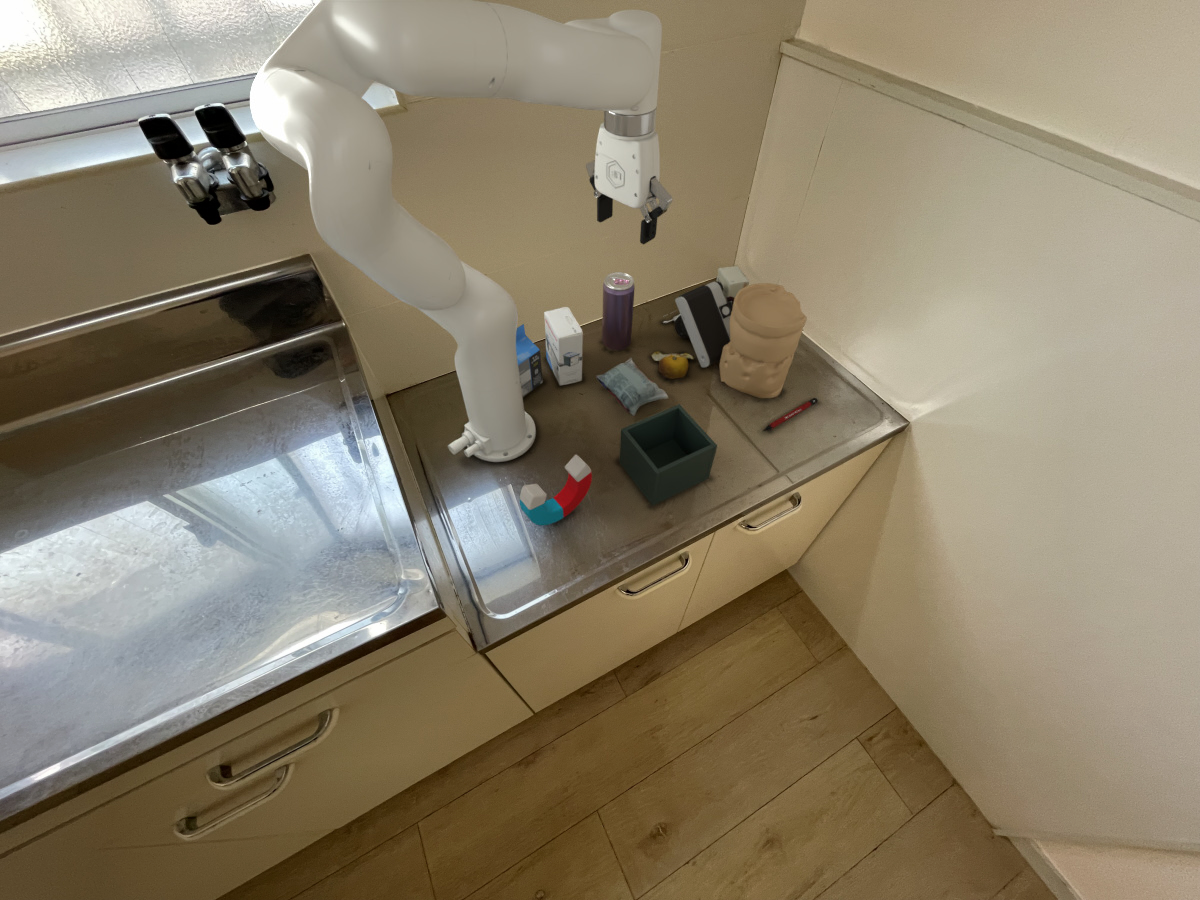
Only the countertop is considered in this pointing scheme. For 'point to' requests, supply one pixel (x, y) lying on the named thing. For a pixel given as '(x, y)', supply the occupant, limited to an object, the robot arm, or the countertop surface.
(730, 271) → the cosmetic box
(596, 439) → the countertop surface
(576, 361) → the ink box
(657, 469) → the waste bin
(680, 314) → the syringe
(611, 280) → the beverage can
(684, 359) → the fruit
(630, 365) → the packaged food
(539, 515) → the magnet
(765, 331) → the container
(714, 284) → the camera
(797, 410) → the pencil
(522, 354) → the blue cardboard box
